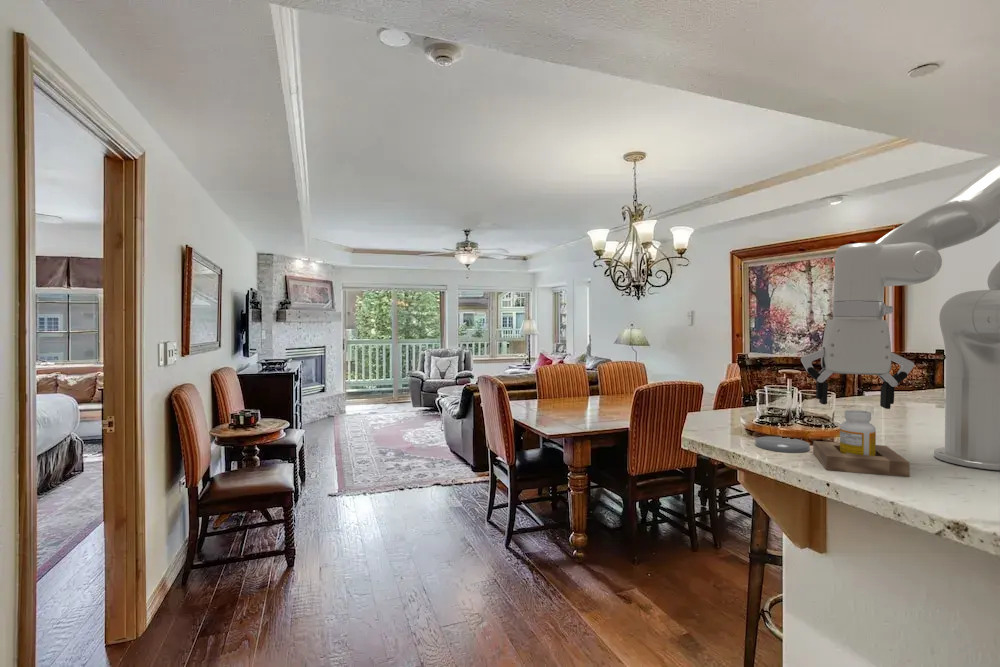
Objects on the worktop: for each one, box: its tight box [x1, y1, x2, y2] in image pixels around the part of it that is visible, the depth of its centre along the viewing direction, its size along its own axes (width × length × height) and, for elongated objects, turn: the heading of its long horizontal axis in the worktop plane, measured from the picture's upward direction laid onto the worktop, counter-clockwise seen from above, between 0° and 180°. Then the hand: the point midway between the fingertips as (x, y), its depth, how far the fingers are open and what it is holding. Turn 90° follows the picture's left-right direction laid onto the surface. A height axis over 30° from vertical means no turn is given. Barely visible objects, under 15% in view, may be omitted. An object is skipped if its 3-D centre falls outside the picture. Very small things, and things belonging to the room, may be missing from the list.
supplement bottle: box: [839, 409, 877, 456], centre depth 94 cm, size 5×5×10 cm
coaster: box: [754, 435, 811, 454], centre depth 108 cm, size 10×10×1 cm
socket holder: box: [812, 440, 911, 478], centre depth 95 cm, size 12×12×2 cm
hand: (853, 405), depth 94 cm, fingers open, 9 cm apart
